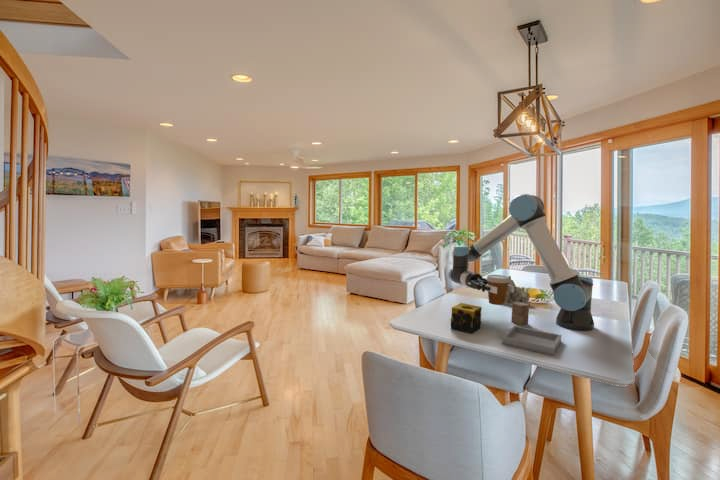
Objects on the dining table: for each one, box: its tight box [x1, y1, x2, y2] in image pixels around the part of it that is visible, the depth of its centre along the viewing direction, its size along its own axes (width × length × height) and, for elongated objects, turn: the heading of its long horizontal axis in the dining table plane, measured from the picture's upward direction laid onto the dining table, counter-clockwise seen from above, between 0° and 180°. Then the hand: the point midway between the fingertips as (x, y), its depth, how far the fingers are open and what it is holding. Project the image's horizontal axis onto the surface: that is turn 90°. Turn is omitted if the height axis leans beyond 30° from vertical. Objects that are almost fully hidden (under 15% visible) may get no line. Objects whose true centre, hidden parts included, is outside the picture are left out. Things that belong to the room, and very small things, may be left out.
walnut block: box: [510, 302, 530, 326], centre depth 171 cm, size 5×5×9 cm
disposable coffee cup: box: [485, 274, 509, 306], centre depth 163 cm, size 10×10×12 cm
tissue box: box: [450, 302, 483, 335], centre depth 161 cm, size 10×10×10 cm
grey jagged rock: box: [503, 275, 531, 306], centre depth 208 cm, size 16×16×15 cm
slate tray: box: [501, 325, 562, 357], centre depth 146 cm, size 18×18×3 cm
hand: (504, 289), depth 159 cm, fingers closed on disposable coffee cup, 8 cm apart
